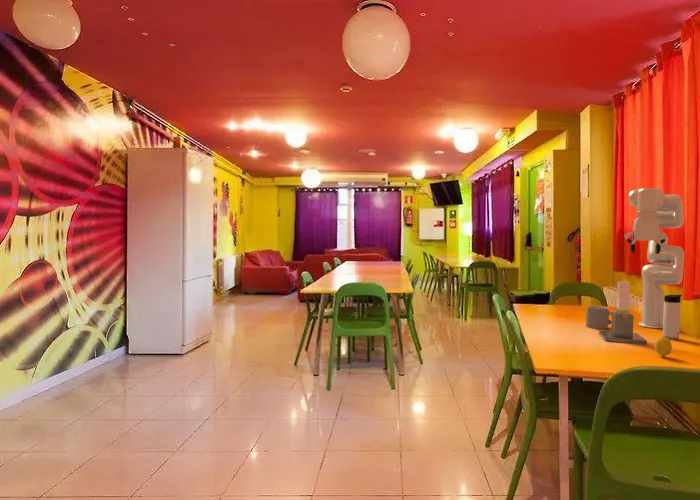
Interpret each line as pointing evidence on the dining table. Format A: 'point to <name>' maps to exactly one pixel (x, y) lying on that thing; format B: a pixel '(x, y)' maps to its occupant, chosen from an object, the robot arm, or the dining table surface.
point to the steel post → (623, 297)
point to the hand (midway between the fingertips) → (645, 253)
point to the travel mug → (671, 316)
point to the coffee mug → (597, 317)
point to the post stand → (622, 330)
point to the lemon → (663, 346)
